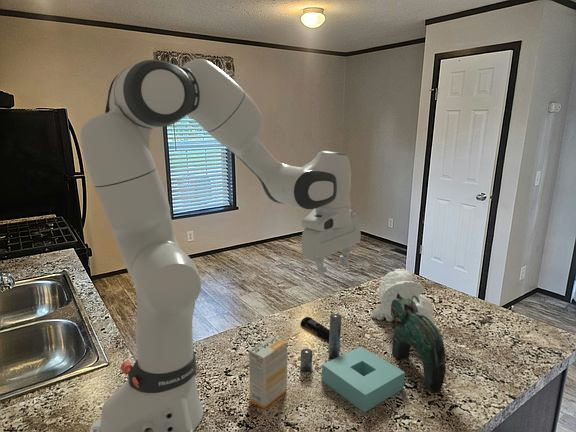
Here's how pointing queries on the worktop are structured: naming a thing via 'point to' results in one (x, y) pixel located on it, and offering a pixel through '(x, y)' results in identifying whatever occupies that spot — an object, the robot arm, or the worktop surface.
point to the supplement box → (268, 371)
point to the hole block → (363, 378)
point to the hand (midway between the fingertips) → (333, 267)
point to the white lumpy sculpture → (406, 288)
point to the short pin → (306, 360)
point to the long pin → (334, 336)
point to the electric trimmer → (316, 327)
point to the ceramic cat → (418, 340)
